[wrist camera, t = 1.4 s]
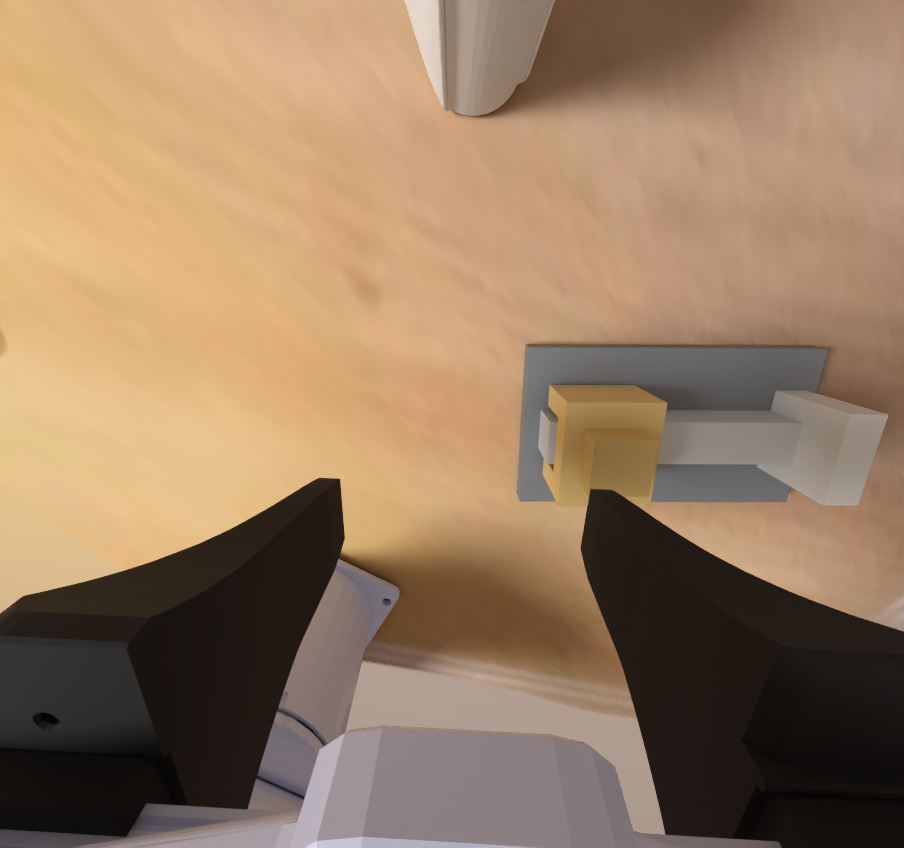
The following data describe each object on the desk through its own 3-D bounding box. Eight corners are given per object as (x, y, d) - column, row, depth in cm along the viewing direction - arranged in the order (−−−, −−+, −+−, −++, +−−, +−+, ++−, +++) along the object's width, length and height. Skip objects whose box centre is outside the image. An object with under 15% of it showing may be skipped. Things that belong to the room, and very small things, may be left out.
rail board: (517, 492, 23) (534, 545, 18) (525, 344, 21) (548, 361, 16) (772, 493, 23) (855, 546, 18) (811, 345, 21) (919, 363, 16)
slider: (542, 474, 21) (565, 521, 17) (549, 384, 20) (577, 411, 16) (621, 474, 21) (664, 521, 17) (634, 385, 20) (684, 411, 16)
